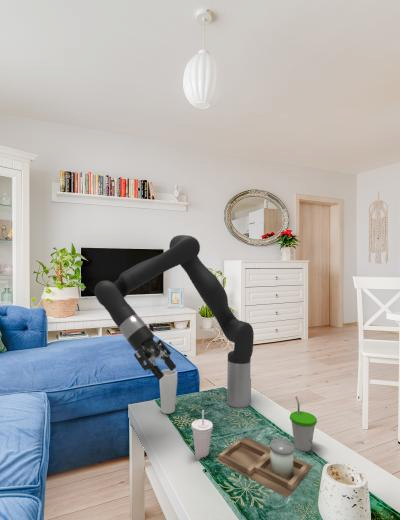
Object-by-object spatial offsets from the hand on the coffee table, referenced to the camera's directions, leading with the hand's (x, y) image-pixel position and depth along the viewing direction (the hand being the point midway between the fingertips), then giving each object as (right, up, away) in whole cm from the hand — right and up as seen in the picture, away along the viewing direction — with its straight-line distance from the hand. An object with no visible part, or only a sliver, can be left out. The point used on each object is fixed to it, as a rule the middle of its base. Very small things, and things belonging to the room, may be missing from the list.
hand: (168, 373), depth 100 cm
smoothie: (+10, -23, -4) cm, 26 cm away
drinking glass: (-2, -23, +24) cm, 33 cm away
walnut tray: (+28, -24, -8) cm, 37 cm away
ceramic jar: (+32, -22, -12) cm, 41 cm away
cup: (+41, -24, 0) cm, 48 cm away
